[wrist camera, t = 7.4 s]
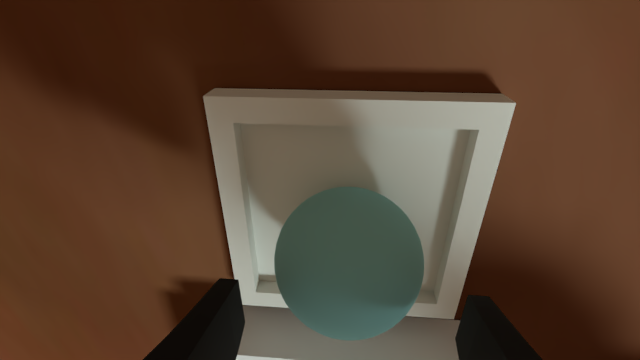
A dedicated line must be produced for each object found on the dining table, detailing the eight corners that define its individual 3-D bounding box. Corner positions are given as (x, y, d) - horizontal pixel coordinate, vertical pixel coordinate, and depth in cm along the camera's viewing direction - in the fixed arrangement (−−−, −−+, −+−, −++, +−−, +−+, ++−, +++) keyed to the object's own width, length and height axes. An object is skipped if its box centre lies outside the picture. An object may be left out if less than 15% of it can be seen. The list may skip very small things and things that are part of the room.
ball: (417, 163, 14) (458, 256, 9) (402, 265, 17) (427, 379, 12) (282, 160, 14) (250, 249, 9) (289, 261, 17) (267, 371, 12)
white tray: (502, 93, 12) (516, 102, 11) (448, 300, 18) (454, 319, 17) (214, 88, 13) (202, 96, 12) (245, 287, 19) (238, 304, 18)
